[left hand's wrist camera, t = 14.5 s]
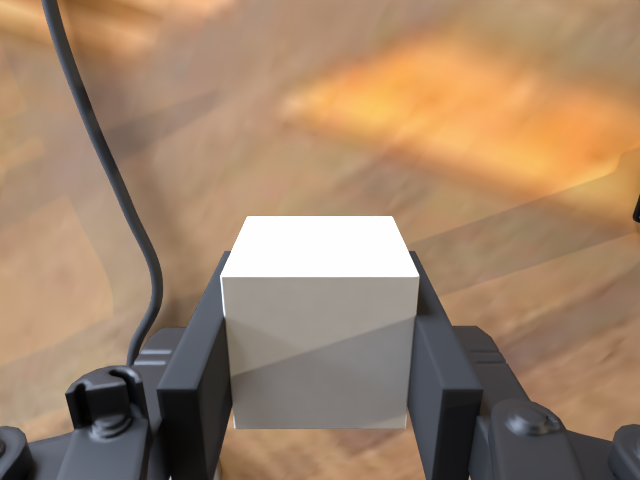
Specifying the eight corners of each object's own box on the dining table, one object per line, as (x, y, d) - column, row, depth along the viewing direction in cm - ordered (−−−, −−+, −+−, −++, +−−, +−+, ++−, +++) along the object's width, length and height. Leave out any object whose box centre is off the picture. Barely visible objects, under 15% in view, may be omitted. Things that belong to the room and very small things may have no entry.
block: (385, 339, 16) (406, 429, 12) (254, 339, 16) (233, 429, 12) (392, 216, 14) (420, 274, 10) (246, 215, 14) (219, 275, 10)
